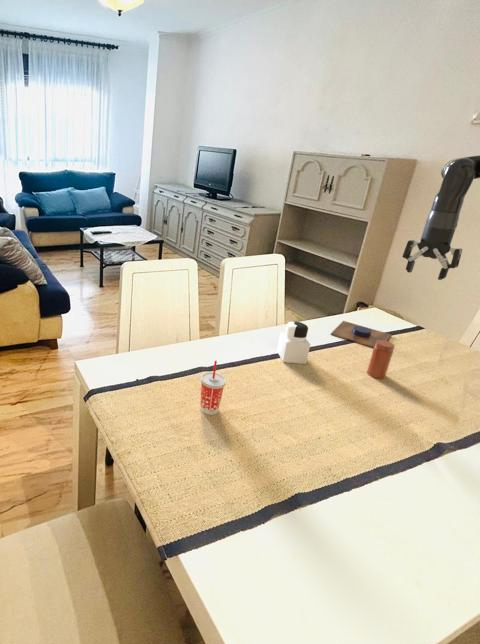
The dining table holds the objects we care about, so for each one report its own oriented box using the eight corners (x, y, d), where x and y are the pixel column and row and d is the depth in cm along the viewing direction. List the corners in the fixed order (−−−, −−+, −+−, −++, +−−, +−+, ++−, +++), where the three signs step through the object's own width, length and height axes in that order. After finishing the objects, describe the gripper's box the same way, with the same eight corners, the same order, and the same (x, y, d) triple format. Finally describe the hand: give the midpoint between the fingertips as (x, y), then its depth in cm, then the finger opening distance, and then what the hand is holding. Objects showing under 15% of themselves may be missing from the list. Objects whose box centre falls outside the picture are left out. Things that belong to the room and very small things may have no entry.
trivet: (390, 335, 142) (390, 334, 141) (381, 350, 131) (381, 349, 130) (342, 322, 152) (343, 320, 152) (330, 334, 141) (330, 333, 140)
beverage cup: (221, 404, 100) (228, 357, 95) (221, 419, 94) (228, 369, 90) (198, 399, 101) (203, 352, 97) (196, 413, 96) (202, 365, 91)
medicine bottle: (298, 353, 127) (305, 320, 123) (306, 364, 120) (314, 330, 116) (276, 351, 127) (282, 318, 123) (282, 362, 121) (289, 328, 117)
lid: (349, 332, 142) (350, 327, 141) (357, 329, 144) (358, 324, 144) (364, 338, 137) (366, 334, 137) (373, 335, 140) (374, 330, 139)
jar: (385, 373, 117) (395, 342, 113) (385, 380, 113) (395, 349, 109) (366, 368, 119) (375, 338, 116) (366, 375, 115) (375, 344, 112)
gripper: (409, 222, 123) (394, 271, 128) (465, 231, 112) (446, 283, 117) (418, 221, 127) (404, 268, 132) (473, 229, 116) (455, 280, 121)
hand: (424, 275), depth 124 cm, fingers open, 8 cm apart
